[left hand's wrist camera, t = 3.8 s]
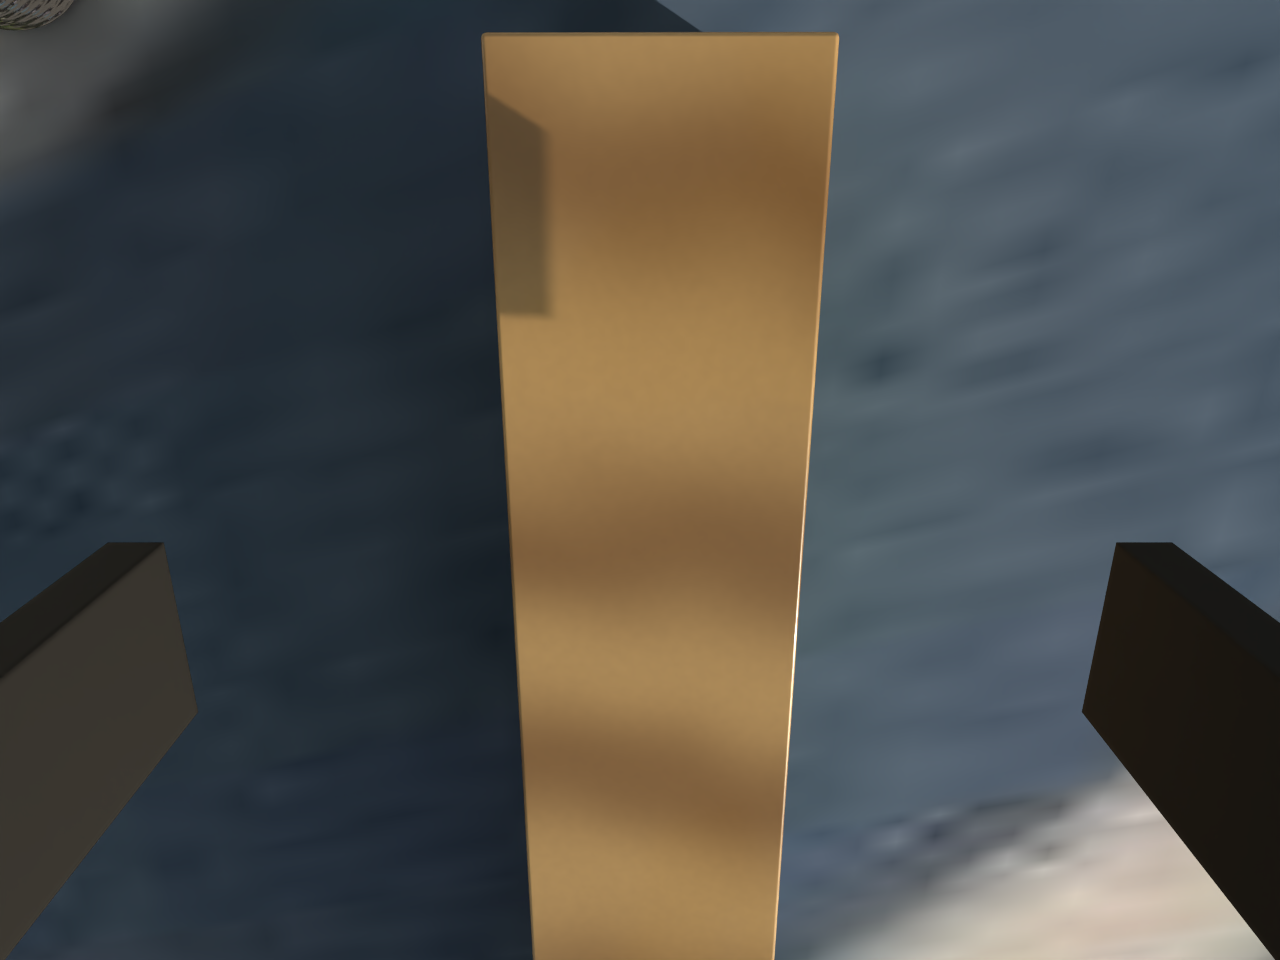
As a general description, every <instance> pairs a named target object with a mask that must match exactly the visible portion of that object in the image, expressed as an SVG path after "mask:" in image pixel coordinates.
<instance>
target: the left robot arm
mask: <svg viewBox="0 0 1280 960" xmlns="http://www.w3.org/2000/svg"><path fill="white" fill-rule="evenodd" d="M197 713H198V709H197V704H196V699H195V695H194V690H193V685H192V680H191V675H190V670H189V665H188V660H187V655H186V650H185V645H184V640H183V635H182V631H181V626H180V621H179V616H178V611H177V606H176V601H175V596H174V591H173V586H172V581H171V576H170V572H169V567H168V562H167V557H166V552H165V547H164V543H107V544H105V545H104V546H103V547H101V548H100V549H99V550H97V551H96V552H95V553H93V554H92V555H91V556H89V557H88V558H87V559H85V560H84V561H83V562H81V563H80V564H79V565H77V566H76V567H75V568H73V569H72V570H71V571H69V572H68V573H67V574H65V575H64V576H63V577H61V578H60V579H58V580H57V581H56V582H54V583H53V584H52V585H50V586H49V587H48V588H46V589H45V590H44V591H42V592H41V593H40V594H38V595H37V596H36V597H34V598H33V599H32V600H30V601H29V602H28V603H26V604H25V605H24V606H22V607H21V608H20V609H18V610H17V611H16V612H14V613H13V614H12V615H10V616H9V617H8V618H6V619H5V620H4V621H2V622H1V623H0V960H5V959H6V958H7V956H8V955H9V954H10V952H11V951H12V950H13V949H14V947H15V946H16V945H17V943H18V942H19V941H20V940H21V938H22V937H23V936H24V934H25V933H26V932H27V931H28V929H29V928H30V927H31V926H32V924H33V923H34V922H35V920H36V919H37V918H38V917H39V915H40V914H41V913H42V911H43V910H44V909H45V908H46V906H47V905H48V904H49V902H50V901H51V900H52V899H53V897H54V896H55V895H56V893H57V892H58V891H59V890H60V888H61V887H62V886H63V884H64V883H65V882H66V881H67V879H68V878H69V877H70V876H71V874H72V873H73V872H74V870H75V869H76V868H77V867H78V865H79V864H80V863H81V861H82V860H83V859H84V858H85V856H86V855H87V854H88V852H89V851H90V850H91V849H92V847H93V846H94V845H95V843H96V842H97V841H98V840H99V838H100V837H101V836H102V834H103V833H104V832H105V831H106V829H107V828H108V827H109V826H110V824H111V823H112V822H113V820H114V819H115V818H116V817H117V815H118V814H119V813H120V811H121V810H122V809H123V808H124V806H125V805H126V804H127V802H128V801H129V800H130V799H131V797H132V796H133V795H134V793H135V792H136V791H137V790H138V788H139V787H140V786H141V784H142V783H143V782H144V781H145V779H146V778H147V777H148V776H149V774H150V773H151V772H152V770H153V769H154V768H155V767H156V765H157V764H158V763H159V761H160V760H161V759H162V758H163V756H164V755H165V754H166V752H167V751H168V750H169V749H170V747H171V746H172V745H173V743H174V742H175V741H176V740H177V738H178V737H179V736H180V734H181V733H182V732H183V731H184V729H185V728H186V727H187V726H188V724H189V723H190V722H191V720H192V719H193V718H194V717H195V715H196V714H197ZM1082 713H1083V714H1084V715H1085V717H1086V718H1087V719H1088V720H1089V722H1090V723H1091V724H1092V726H1093V727H1094V728H1095V729H1096V731H1097V732H1098V733H1099V734H1100V736H1101V737H1102V738H1103V740H1104V741H1105V742H1106V743H1107V745H1108V746H1109V747H1110V749H1111V750H1112V751H1113V752H1114V754H1115V755H1116V756H1117V758H1118V759H1119V760H1120V761H1121V763H1122V764H1123V765H1124V767H1125V768H1126V769H1127V770H1128V772H1129V773H1130V774H1131V776H1132V777H1133V778H1134V779H1135V781H1136V782H1137V783H1138V784H1139V786H1140V787H1141V788H1142V790H1143V791H1144V792H1145V793H1146V795H1147V796H1148V797H1149V799H1150V800H1151V801H1152V802H1153V804H1154V805H1155V806H1156V808H1157V809H1158V810H1159V811H1160V813H1161V814H1162V815H1163V817H1164V818H1165V819H1166V820H1167V822H1168V823H1169V824H1170V826H1171V827H1172V828H1173V829H1174V831H1175V832H1176V833H1177V834H1178V836H1179V837H1180V838H1181V840H1182V841H1183V842H1184V843H1185V845H1186V846H1187V847H1188V849H1189V850H1190V851H1191V852H1192V854H1193V855H1194V856H1195V858H1196V859H1197V860H1198V861H1199V863H1200V864H1201V865H1202V867H1203V868H1204V869H1205V870H1206V872H1207V873H1208V874H1209V876H1210V877H1211V878H1212V879H1213V881H1214V882H1215V883H1216V884H1217V886H1218V887H1219V888H1220V890H1221V891H1222V892H1223V893H1224V895H1225V896H1226V897H1227V899H1228V900H1229V901H1230V902H1231V904H1232V905H1233V906H1234V908H1235V909H1236V910H1237V911H1238V913H1239V914H1240V915H1241V917H1242V918H1243V919H1244V920H1245V922H1246V923H1247V924H1248V926H1249V927H1250V928H1251V929H1252V931H1253V932H1254V933H1255V934H1256V936H1257V937H1258V938H1259V940H1260V941H1261V942H1262V943H1263V945H1264V946H1265V947H1266V949H1267V950H1268V951H1269V952H1270V954H1271V955H1272V956H1273V958H1274V959H1275V960H1280V623H1279V622H1278V621H1276V620H1275V619H1274V618H1272V617H1271V616H1270V615H1268V614H1267V613H1266V612H1264V611H1263V610H1262V609H1260V608H1259V607H1258V606H1256V605H1255V604H1254V603H1252V602H1251V601H1250V600H1248V599H1247V598H1246V597H1244V596H1243V595H1242V594H1240V593H1239V592H1238V591H1236V590H1235V589H1234V588H1232V587H1231V586H1230V585H1228V584H1227V583H1226V582H1224V581H1223V580H1222V579H1220V578H1219V577H1217V576H1216V575H1215V574H1213V573H1212V572H1211V571H1209V570H1208V569H1207V568H1205V567H1204V566H1203V565H1201V564H1200V563H1199V562H1197V561H1196V560H1195V559H1193V558H1192V557H1191V556H1189V555H1188V554H1187V553H1185V552H1184V551H1183V550H1181V549H1180V548H1179V547H1177V546H1176V545H1175V544H1173V543H1116V547H1115V552H1114V557H1113V562H1112V567H1111V572H1110V576H1109V581H1108V586H1107V591H1106V596H1105V601H1104V606H1103V611H1102V616H1101V621H1100V626H1099V631H1098V635H1097V640H1096V645H1095V650H1094V655H1093V660H1092V665H1091V670H1090V675H1089V680H1088V685H1087V690H1086V694H1085V699H1084V704H1083V709H1082Z"/></svg>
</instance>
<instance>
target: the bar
mask: <svg viewBox="0 0 1280 960" xmlns="http://www.w3.org/2000/svg"><path fill="white" fill-rule="evenodd" d="M481 46H482V64H483V81H484V99H485V117H486V135H487V153H488V170H489V188H490V206H491V224H492V242H493V259H494V277H495V295H496V313H497V331H498V348H499V366H500V384H501V402H502V420H503V437H504V455H505V473H506V491H507V509H508V526H509V544H510V562H511V580H512V597H513V615H514V633H515V651H516V669H517V686H518V704H519V722H520V740H521V758H522V775H523V793H524V811H525V829H526V847H527V864H528V882H529V900H530V918H531V936H532V953H533V960H774V954H775V940H776V926H777V912H778V898H779V884H780V869H781V855H782V841H783V827H784V813H785V798H786V784H787V770H788V756H789V742H790V727H791V713H792V699H793V685H794V671H795V656H796V642H797V628H798V614H799V600H800V585H801V571H802V557H803V543H804V529H805V515H806V500H807V486H808V472H809V458H810V444H811V429H812V415H813V401H814V387H815V373H816V358H817V344H818V330H819V316H820V302H821V287H822V273H823V259H824V245H825V231H826V216H827V202H828V188H829V174H830V160H831V146H832V131H833V117H834V103H835V89H836V75H837V60H838V46H839V36H838V33H836V32H486V33H484V34H482V37H481Z"/></svg>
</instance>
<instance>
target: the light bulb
mask: <svg viewBox="0 0 1280 960" xmlns="http://www.w3.org/2000/svg"><path fill="white" fill-rule="evenodd" d="M73 1H74V0H0V29H5V30H28V29H33V28H37V27H40V26H43V25H46V24H48V23H50V22H52V21H53V20H55V19H56V18H58V17H59V16H61V15H62V14H63V13H64V12H65V11H66V10H67V9H68V8H69V6H70V5H71V4H72V3H73Z"/></svg>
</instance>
